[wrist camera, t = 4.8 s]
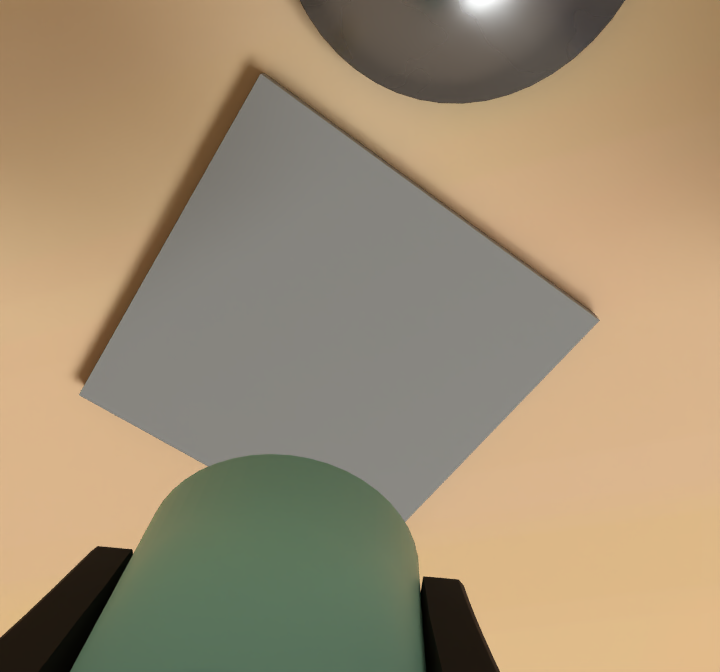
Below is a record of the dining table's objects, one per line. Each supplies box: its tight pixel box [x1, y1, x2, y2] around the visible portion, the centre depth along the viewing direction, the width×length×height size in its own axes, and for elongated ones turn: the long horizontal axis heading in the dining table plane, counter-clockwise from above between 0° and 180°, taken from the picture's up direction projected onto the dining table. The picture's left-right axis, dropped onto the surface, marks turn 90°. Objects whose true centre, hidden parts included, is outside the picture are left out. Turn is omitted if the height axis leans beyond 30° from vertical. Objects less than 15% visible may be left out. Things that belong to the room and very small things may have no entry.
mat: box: [79, 73, 600, 522], centre depth 19 cm, size 12×12×1 cm
